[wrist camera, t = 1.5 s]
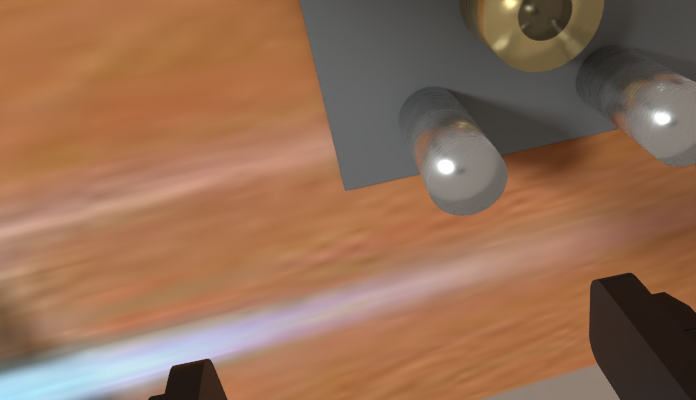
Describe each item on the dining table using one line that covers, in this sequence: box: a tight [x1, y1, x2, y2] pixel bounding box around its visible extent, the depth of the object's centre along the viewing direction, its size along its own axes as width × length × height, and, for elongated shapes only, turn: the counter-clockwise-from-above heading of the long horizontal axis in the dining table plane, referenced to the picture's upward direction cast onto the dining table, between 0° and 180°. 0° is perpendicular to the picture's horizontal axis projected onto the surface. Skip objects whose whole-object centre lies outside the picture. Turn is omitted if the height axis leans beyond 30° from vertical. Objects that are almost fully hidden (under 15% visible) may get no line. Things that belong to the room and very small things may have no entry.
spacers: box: [399, 44, 696, 216], centre depth 24 cm, size 13×12×7 cm
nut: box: [460, 0, 604, 72], centre depth 25 cm, size 5×5×4 cm
